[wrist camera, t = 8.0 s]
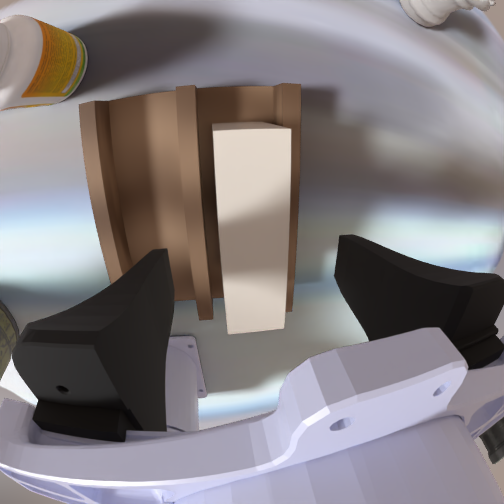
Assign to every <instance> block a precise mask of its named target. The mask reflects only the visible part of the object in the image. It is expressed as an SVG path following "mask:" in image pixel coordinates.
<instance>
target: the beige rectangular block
mask: <svg viewBox="0 0 504 504" xmlns="http://www.w3.org/2000/svg"><path fill="white" fill-rule="evenodd" d="M212 130H213V151H214V170H215V187H216V203H217V217H218V231H219V245H220V257H221V269H222V280H223V291H224V301H225V311H226V321H227V330H228V334H239V333H249V332H258V331H267V330H275V329H283V328H284V324H285V308H286V291H287V271H288V249H289V222H290V185H291V129H290V128H286V127H282V126H278V125H274V124H270V123H266V122H230V123H213V124H212Z"/></svg>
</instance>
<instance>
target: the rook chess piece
mask: <svg viewBox="0 0 504 504" xmlns="http://www.w3.org/2000/svg"><path fill="white" fill-rule="evenodd" d="M399 1H400V4H401V6H402V8H403V10H404V11H405V12H406V14H407V15H408V16H409V17H410V18H412V19H413V20H414V21H415V22H417V23H418V24H421V25H423V26H425V27H433V26H435V25H439V24H441V23H442V22H444V21H445V20H446V18H447V17H448V16H449V14H450V13H452V12H454V11H457V10H459V9H465V10H471V9H473V7H476V8H478V9H480V10H481V11H487V10H489V8H490V6H493V5H495V4H496V3H495V2H494V0H399Z"/></svg>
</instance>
